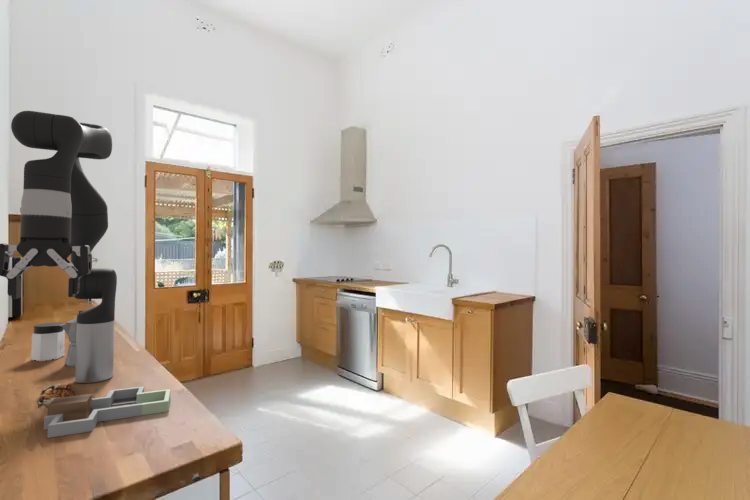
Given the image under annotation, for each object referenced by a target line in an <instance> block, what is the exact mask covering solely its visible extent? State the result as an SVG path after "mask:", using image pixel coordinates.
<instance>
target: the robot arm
mask: <svg viewBox="0 0 750 500" xmlns="http://www.w3.org/2000/svg"><path fill="white" fill-rule="evenodd" d="M10 129H11V132H12V135H13V137H14V138H15V139H16V140H17V142H18V143H20V144H21V145H22V146H24V147H27V148H29V149H36V150H37V149H39V150H47V151H54V152H55V151H56V152H55V154H53V155H52V156H51V157H48V158H42V159H41V158H39V159H33V160H31V159H30V160H28V161H26V163H25V164H24V166H23V188H22V189H23V191H22V196H21V201H20V202H21V203H20V208H19V209H20V210H19V212H20V227H19V229H20V230H19V231H20V233H19V239H20V240H19V242H18V244H9V243H0V277H4V278H6V279H7V295H8V296H9V297H11V299H12V300H13V299H15V300H16V299H17V300H18V299H21V297H22V278H20V277H21V276H22V275H23V274H24V273H25V272H26V271H27V270H29V269H30V268H31V267H45V266H46V267H58V266H59V267H60V268H61V270H63V271H64V272H66V274H67V275H68V276H69V277H70V278H68V288H67V289H68V293H67V294H68V295H67V296H68V298H75V299H77V300H99V299H100V300H101V302H100V303H99V304H98V305H96V306H94V307H92V308H89V309H86V310H82V311H83V312H80V313H79V312H78V314H77V316H76V319H77V329H76V366H74V367H75V372H74V374H75V376H74V382H75V383H78V384H91V383H97V382H102V381H106V380H109V379H111V378H112V377H114V354H115V353H114V352H115V316H116V315H115V312H116V311H115V310H116V293H117V287H118V286H117V285H118V284H117V283H118V277H117V272H116V270H115V269H112V268H92V258H91V257H92V256H91V255H92V254H91V253H92V251H93V249H94V248H95V247H96V245H98V244H99V242H100V241H101V240H102V238H103V237H104V235H105V234H106V233H107V230H108V228H109V216H108V215H109V213H108V211H109V210H108V205H107V203H106V201H105V199H104V197H102V195H101V194H100V193H99V191H98V190H97V189H96V188H95V186H93V184H92V183H91V182H90V180H89V179H88V177H87V176H86V174H85V172H84V171H83V167H82V164H81V162H80V159H89V160H91V159H92V160H106V159H108V158H110V157H111V155H112V151H113V140H112V139H113V138H112V135H111V132H110V130H109V129H107V127H104V126H102V125H99V124H93V123H92V124H91V123H85V122H79V121H78V120H77V119H75V118H74V117H73V116H69V115H64V114H55V113H50V112H49V113H48V112H43V111H42V112H41V111H34V110H22V111H20V112H18V113H16V114H15V115H14V117H13V118H12V119H11V124H10ZM16 251H17V253H18V254H19V255H21V257H22V258H20V259H19V261H18V262H17V263H16V264H15V265H14V267H12V269H9V268H10V259H11V256H13V255H15V252H16ZM69 257H70V259H69Z"/></svg>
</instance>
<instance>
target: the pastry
mask: <svg viewBox="0 0 750 500" xmlns="http://www.w3.org/2000/svg"><path fill="white" fill-rule="evenodd" d="M49 389H50V390H49ZM73 390H75V388H74V387H73V383H70V382H69V383H67V384H63V383H58V384H57V385H54V384H50V385H48V386H46V388H45V389H42V390H41V392H40V396H39V397H38V400H37V405H38V408H42V409H45V408H48V405H49V404H50V403H51V402H52V401H53V400H54V399H55V398H60V397H68V396H74V394H73Z"/></svg>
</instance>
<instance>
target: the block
mask: <svg viewBox="0 0 750 500" xmlns="http://www.w3.org/2000/svg"><path fill="white" fill-rule="evenodd" d="M92 399H93V393H89V394H88V393H87V394H80V395H78V394H77V395H73V396H69V395H67V396H66V397H60V398H55V399H54V400H53V401H52V402H51V403H50V404H49V405H48V407H47V410H46V411H47V413H46V416H49V415H57V414H63V422H65V421H72V420H80V419H87V418H89V416H90V414H91V413H92V411H93V410H92Z"/></svg>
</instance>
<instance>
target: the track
mask: <svg viewBox="0 0 750 500" xmlns="http://www.w3.org/2000/svg"><path fill="white" fill-rule="evenodd" d="M171 392H172V391H171V388H169V389H168V388H166V389H160V390H150V391H145V386H143V385H142V386H136V387H135V386H134V387H126V388H119V389H118V388H117V389H110V390H109V392H108V393H107V395H106V396H103V397H94V398H93V397H92V412H91V414H90V415H89V417H88V418H87V419H80V420H72V421H65V422H63V414H57V415H49V416H47V415H45V416H44V417H43V430H47V439H50V438H56V437H62V436H70V435H75V434H83V433H88V432H93V431H94V429H95V427H96V426H97V424H98V422H104V421H113V420H118V419H119V420H120V419H125V418H132V417H139V416H146V415H153V414H154V415H155V414H161V413H166V412H169V408H170V402H171Z"/></svg>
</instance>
